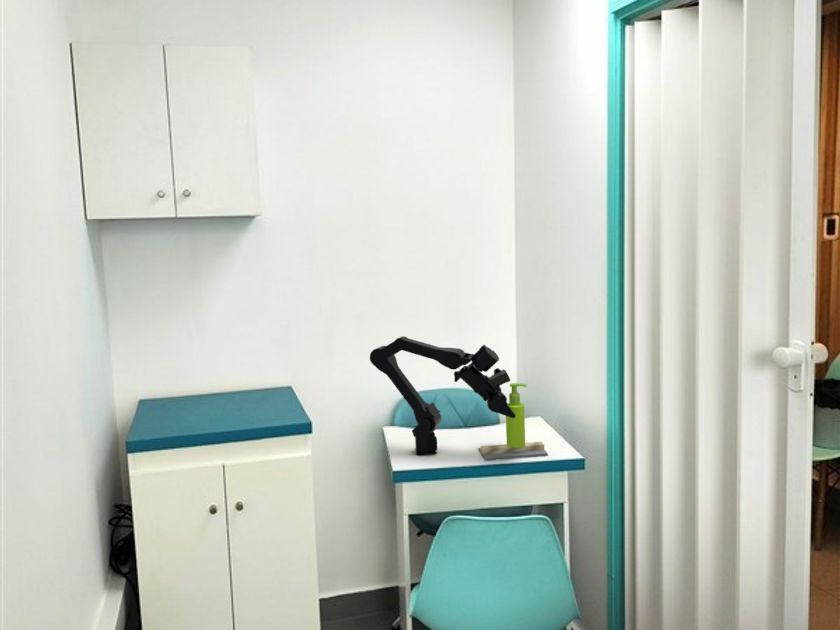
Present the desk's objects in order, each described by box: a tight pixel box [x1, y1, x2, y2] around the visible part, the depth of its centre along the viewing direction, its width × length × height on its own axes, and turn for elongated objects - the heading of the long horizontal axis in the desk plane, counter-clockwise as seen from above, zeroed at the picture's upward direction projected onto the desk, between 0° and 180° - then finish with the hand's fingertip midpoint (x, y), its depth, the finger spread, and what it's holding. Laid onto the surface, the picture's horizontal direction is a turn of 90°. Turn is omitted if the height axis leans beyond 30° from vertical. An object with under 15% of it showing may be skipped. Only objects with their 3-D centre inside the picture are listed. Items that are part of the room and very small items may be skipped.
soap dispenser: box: [505, 382, 528, 448], centre depth 240 cm, size 6×7×20 cm
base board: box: [477, 447, 549, 461], centre depth 241 cm, size 20×11×1 cm, turn 96°
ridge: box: [479, 441, 545, 455], centre depth 241 cm, size 20×4×2 cm, turn 96°
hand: (512, 413), depth 240 cm, fingers open, 9 cm apart
